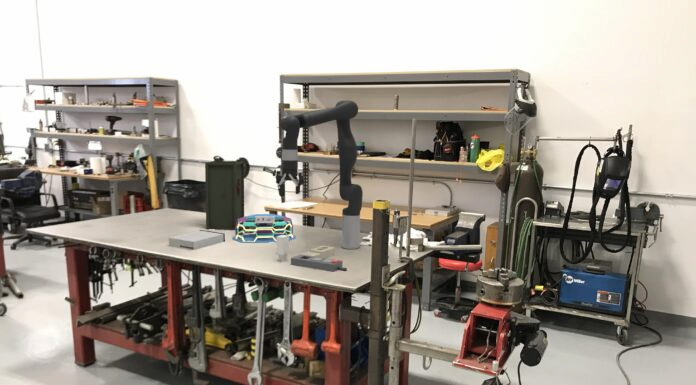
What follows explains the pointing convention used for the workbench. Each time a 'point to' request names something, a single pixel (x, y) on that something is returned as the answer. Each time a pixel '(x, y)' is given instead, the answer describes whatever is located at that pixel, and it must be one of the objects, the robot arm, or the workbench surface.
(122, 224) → the workbench surface
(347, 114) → the robot arm
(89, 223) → the workbench surface
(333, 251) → the electrical outlet
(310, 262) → the power strip
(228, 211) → the green ammo box
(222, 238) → the disc drive
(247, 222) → the stadium
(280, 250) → the block
